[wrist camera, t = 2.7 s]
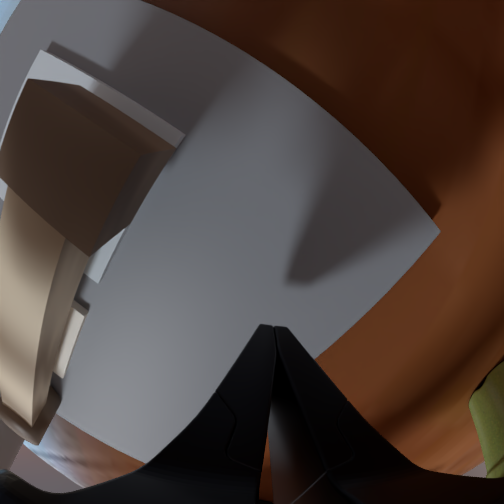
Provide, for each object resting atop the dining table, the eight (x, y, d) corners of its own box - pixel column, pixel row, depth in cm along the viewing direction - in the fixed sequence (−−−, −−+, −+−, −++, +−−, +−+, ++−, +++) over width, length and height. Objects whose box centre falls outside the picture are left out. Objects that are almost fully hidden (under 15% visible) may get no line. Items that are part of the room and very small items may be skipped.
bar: (58, 411, 14) (38, 449, 10) (19, 381, 13) (-4, 416, 10) (188, 146, 7) (130, 157, 4) (100, 89, 7) (16, 76, 3)
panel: (429, 224, 9) (447, 236, 8) (153, 457, 17) (150, 470, 16) (48, -21, 5) (33, -28, 4) (-39, 314, 13) (-48, 322, 11)
